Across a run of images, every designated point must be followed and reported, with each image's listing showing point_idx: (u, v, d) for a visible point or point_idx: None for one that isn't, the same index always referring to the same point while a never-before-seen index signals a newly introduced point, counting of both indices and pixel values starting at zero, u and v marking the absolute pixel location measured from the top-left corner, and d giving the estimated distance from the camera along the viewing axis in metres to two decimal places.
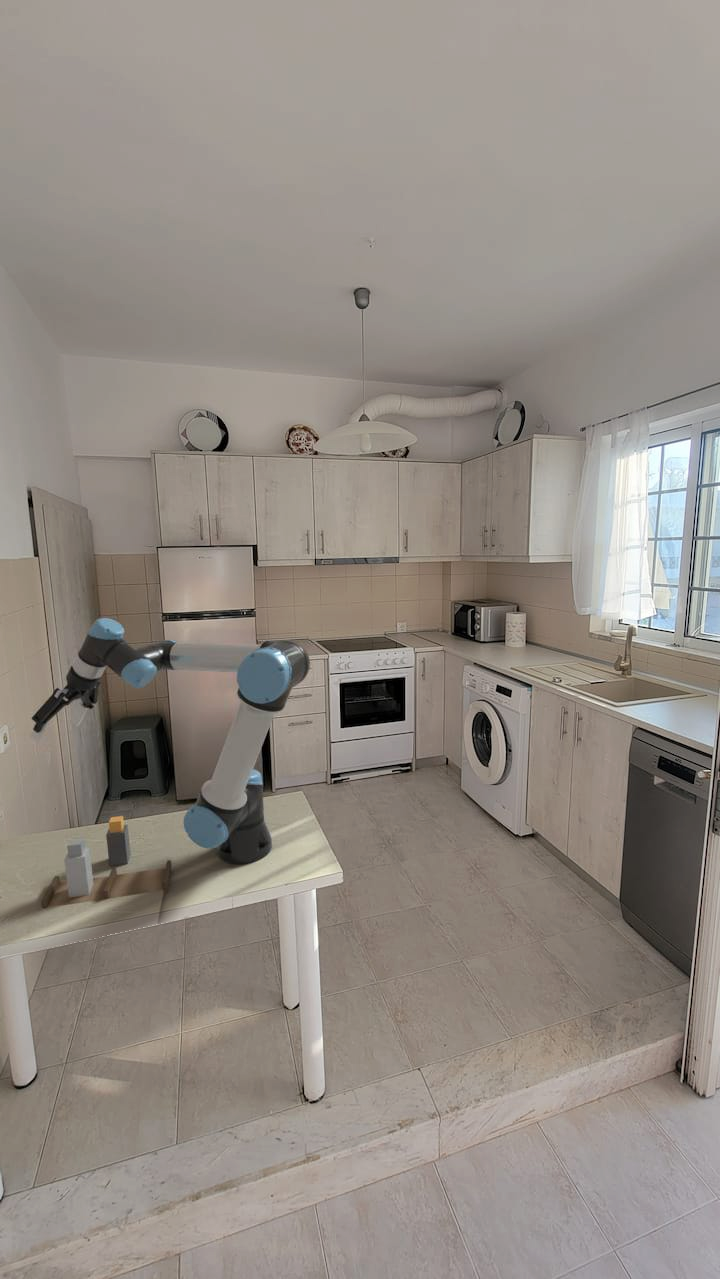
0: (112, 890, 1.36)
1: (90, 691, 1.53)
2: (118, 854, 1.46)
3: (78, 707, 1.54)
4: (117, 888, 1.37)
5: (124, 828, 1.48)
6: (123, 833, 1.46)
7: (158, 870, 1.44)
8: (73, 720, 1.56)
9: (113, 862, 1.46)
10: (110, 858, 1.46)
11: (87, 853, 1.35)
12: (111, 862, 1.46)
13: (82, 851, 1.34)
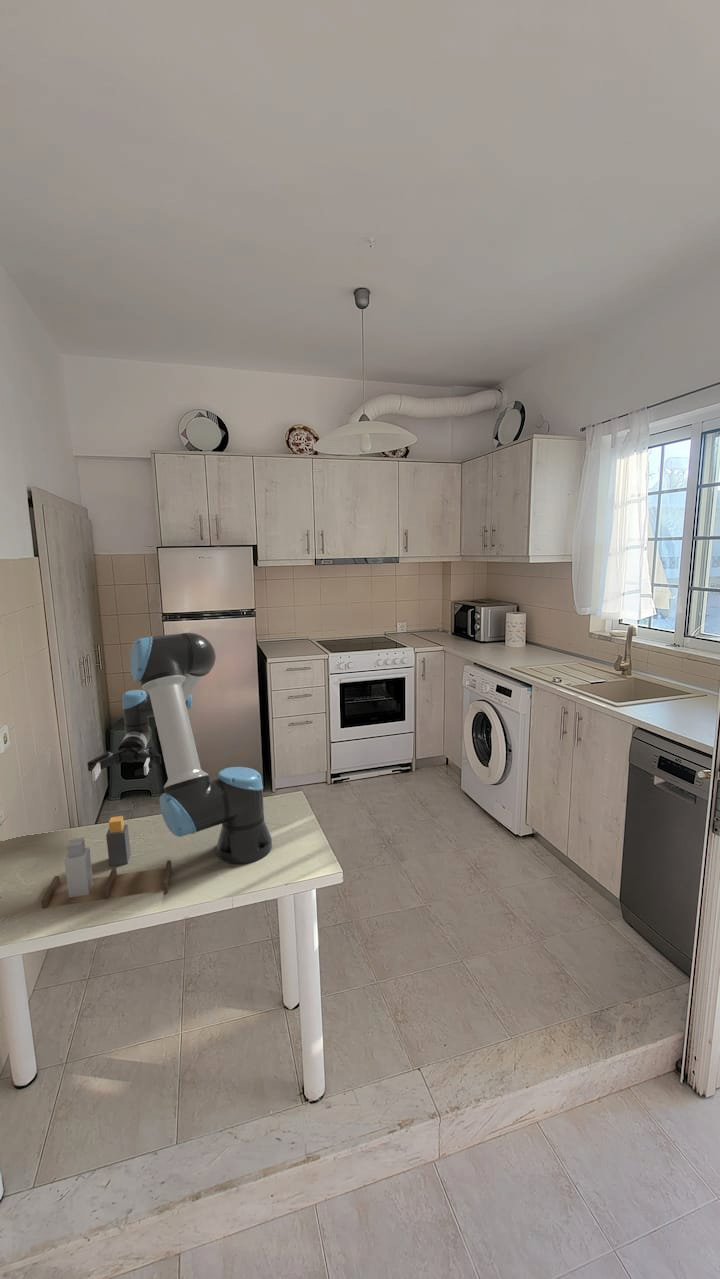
0: (112, 890, 1.36)
1: None
2: (118, 854, 1.46)
3: None
4: (117, 888, 1.37)
5: (124, 828, 1.48)
6: (123, 833, 1.46)
7: (158, 870, 1.44)
8: None
9: (113, 862, 1.46)
10: (110, 858, 1.46)
11: (87, 853, 1.35)
12: (111, 862, 1.46)
13: (82, 851, 1.34)
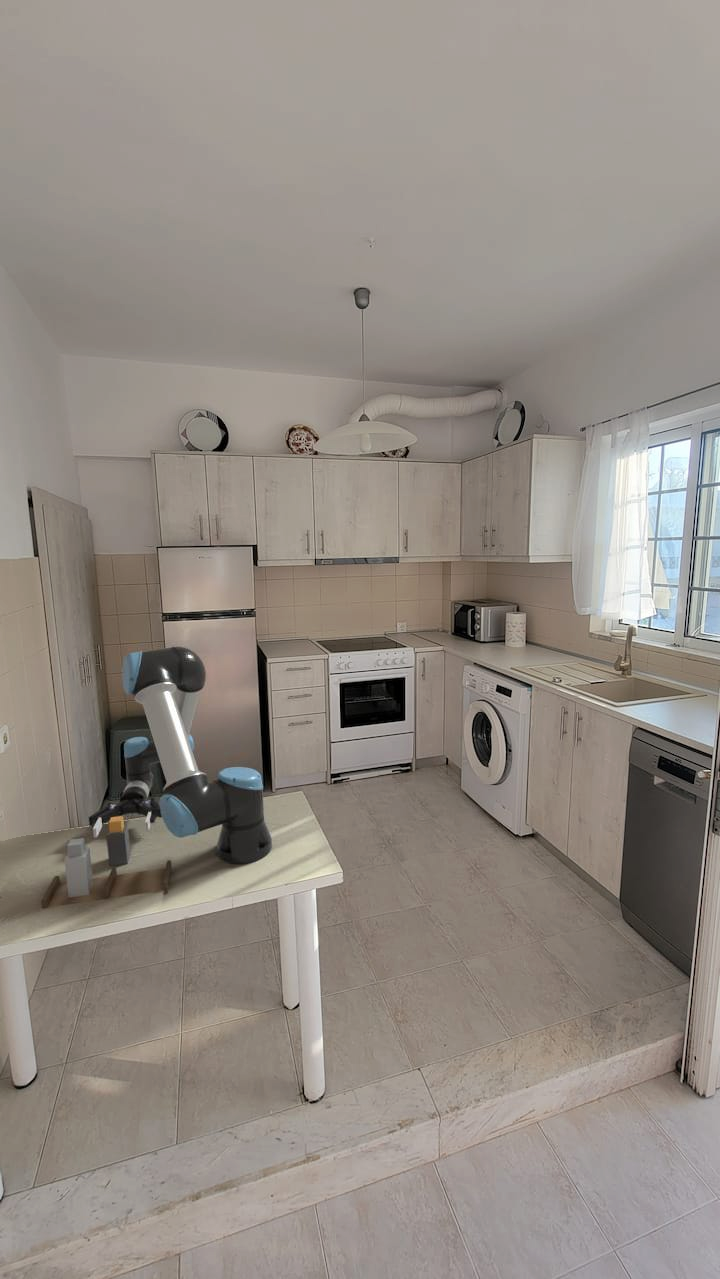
0: (112, 890, 1.36)
1: None
2: (118, 854, 1.46)
3: None
4: (117, 888, 1.37)
5: (124, 828, 1.48)
6: (123, 833, 1.46)
7: (158, 870, 1.44)
8: None
9: (113, 862, 1.46)
10: (110, 858, 1.46)
11: (87, 853, 1.35)
12: (111, 862, 1.46)
13: (82, 851, 1.34)
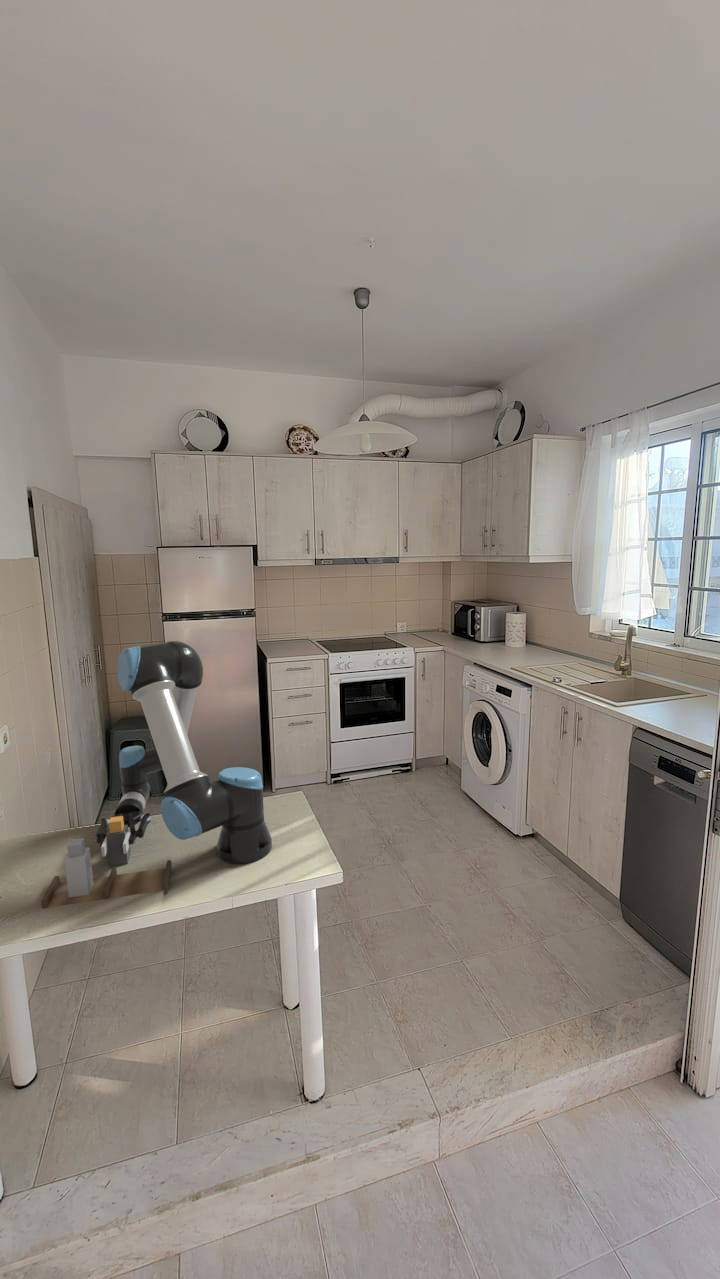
0: (112, 890, 1.36)
1: None
2: (118, 854, 1.46)
3: None
4: (117, 888, 1.37)
5: (124, 828, 1.48)
6: (123, 833, 1.46)
7: (158, 870, 1.44)
8: None
9: (113, 862, 1.46)
10: (110, 858, 1.46)
11: (87, 853, 1.35)
12: (111, 862, 1.46)
13: (82, 851, 1.34)
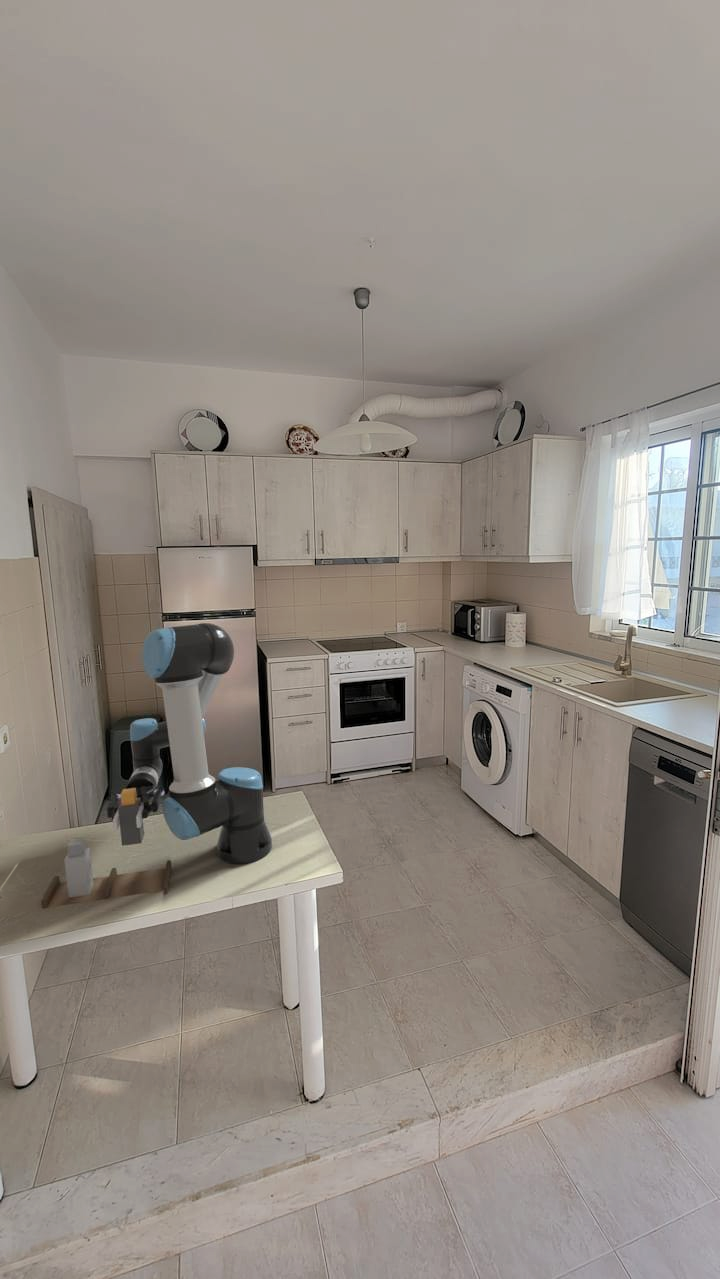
0: (112, 890, 1.36)
1: None
2: (131, 829, 1.35)
3: None
4: (117, 888, 1.37)
5: (137, 801, 1.37)
6: (136, 806, 1.35)
7: (158, 870, 1.44)
8: None
9: (125, 837, 1.35)
10: (122, 833, 1.35)
11: (87, 853, 1.35)
12: (123, 837, 1.35)
13: (82, 851, 1.34)
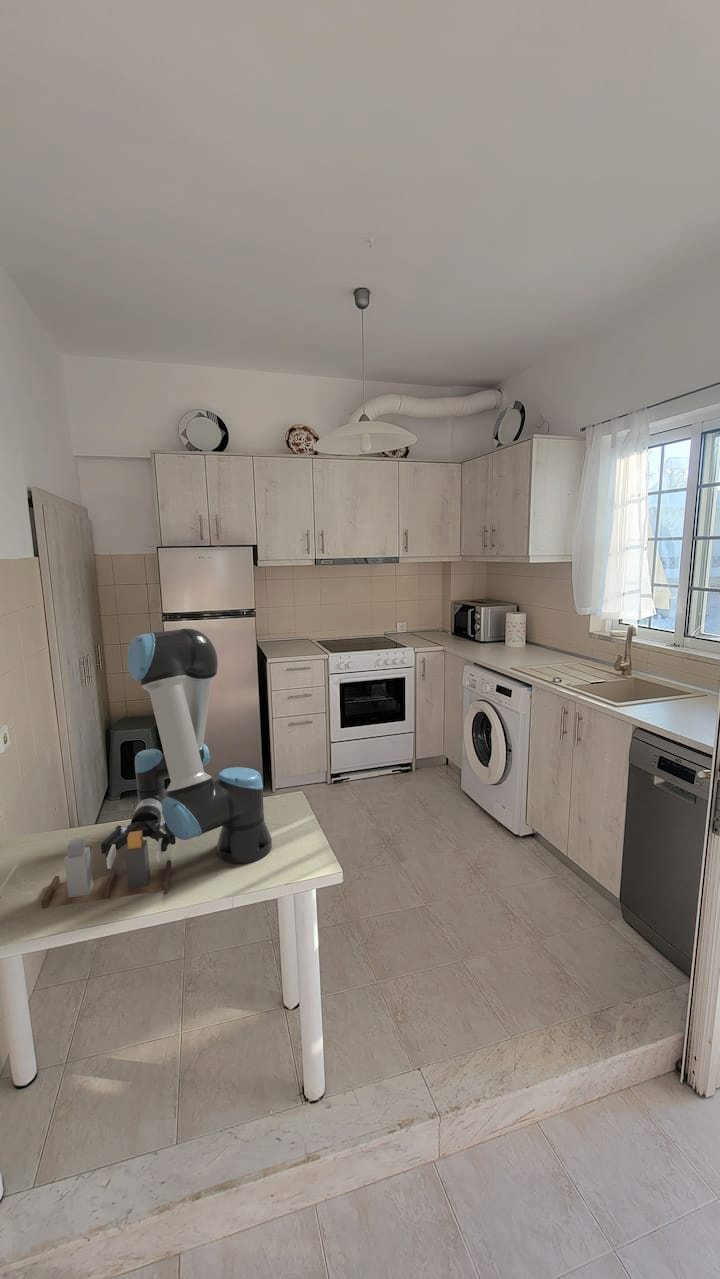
0: (112, 890, 1.36)
1: (166, 833, 1.46)
2: (137, 872, 1.36)
3: None
4: (117, 888, 1.37)
5: (143, 844, 1.38)
6: (143, 849, 1.36)
7: (158, 870, 1.44)
8: None
9: (132, 880, 1.36)
10: (128, 876, 1.36)
11: (87, 853, 1.35)
12: (130, 880, 1.36)
13: (82, 851, 1.34)
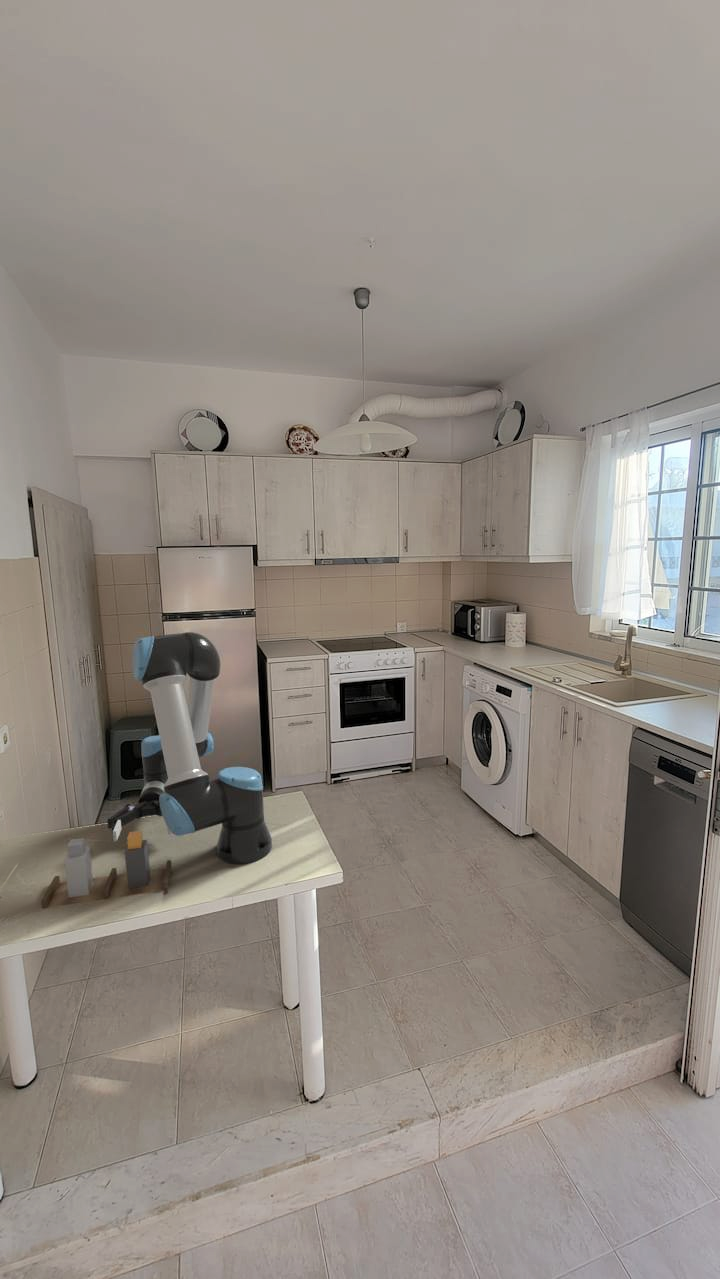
0: (112, 890, 1.36)
1: None
2: (137, 872, 1.36)
3: None
4: (117, 888, 1.37)
5: (143, 844, 1.38)
6: (143, 849, 1.36)
7: (158, 870, 1.44)
8: (168, 829, 1.49)
9: (132, 880, 1.36)
10: (128, 876, 1.36)
11: (87, 853, 1.35)
12: (130, 880, 1.36)
13: (82, 851, 1.34)
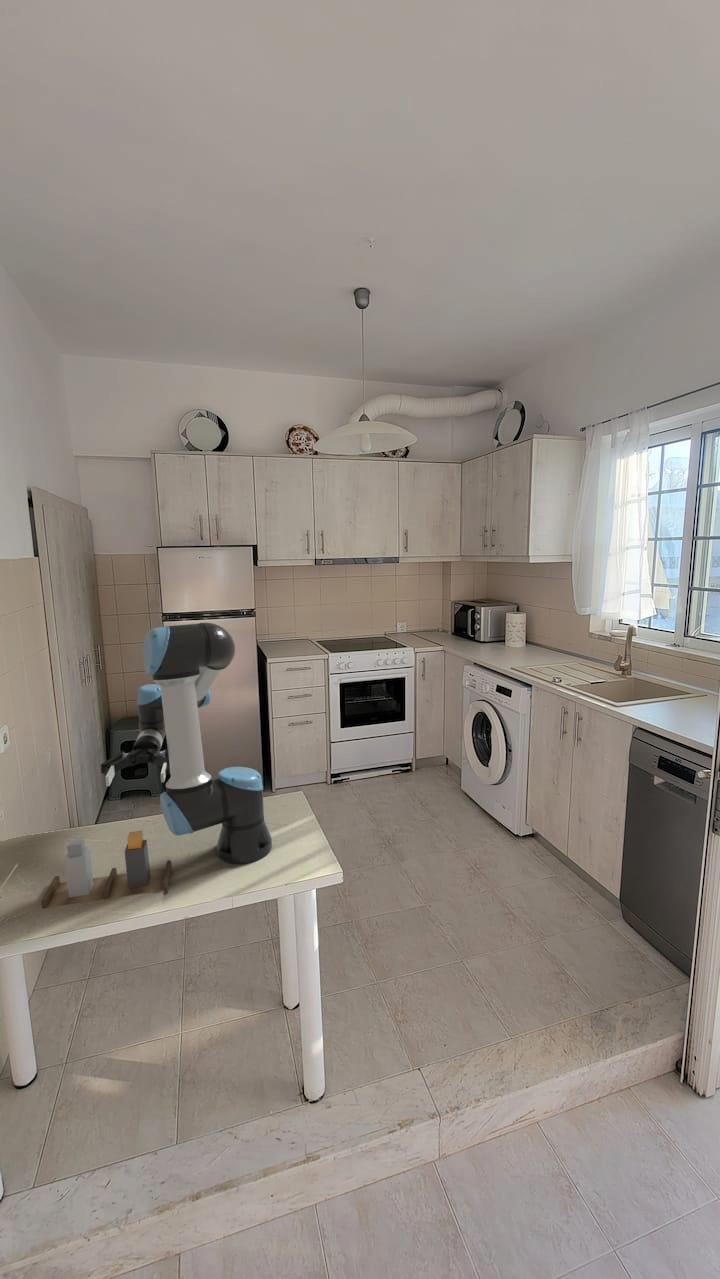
0: (112, 890, 1.36)
1: None
2: (137, 872, 1.36)
3: None
4: (117, 888, 1.37)
5: (143, 844, 1.38)
6: (143, 849, 1.36)
7: (158, 870, 1.44)
8: (161, 778, 1.48)
9: (132, 880, 1.36)
10: (128, 876, 1.36)
11: (87, 853, 1.35)
12: (130, 880, 1.36)
13: (82, 851, 1.34)
